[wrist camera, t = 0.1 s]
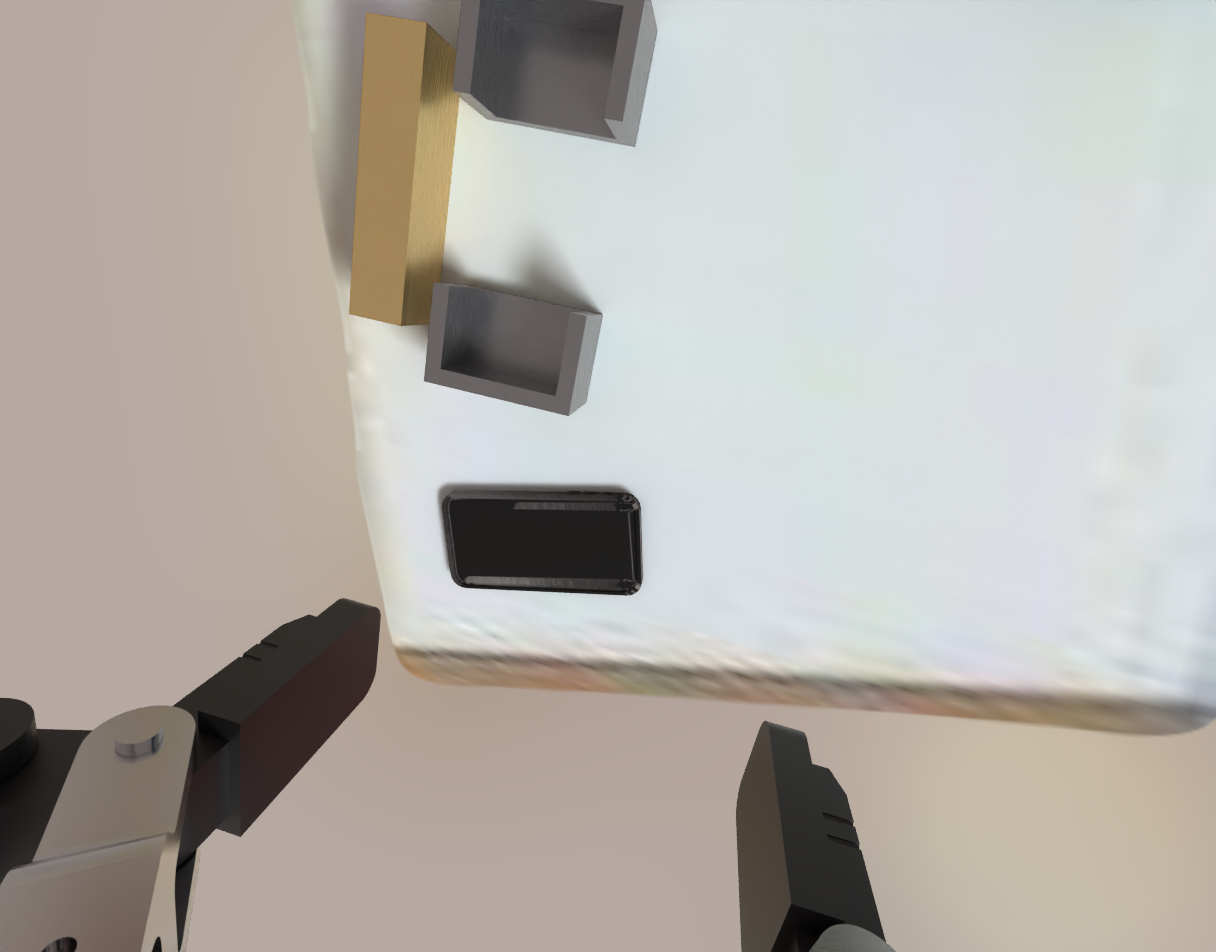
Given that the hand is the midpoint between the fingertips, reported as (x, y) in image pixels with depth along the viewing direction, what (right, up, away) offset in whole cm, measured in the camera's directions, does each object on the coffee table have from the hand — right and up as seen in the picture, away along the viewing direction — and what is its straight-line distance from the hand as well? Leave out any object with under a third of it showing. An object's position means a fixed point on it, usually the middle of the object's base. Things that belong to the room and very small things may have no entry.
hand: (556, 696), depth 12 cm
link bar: (-11, +23, +26) cm, 37 cm away
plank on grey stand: (-3, +21, +25) cm, 33 cm away
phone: (-4, 0, +32) cm, 32 cm away
